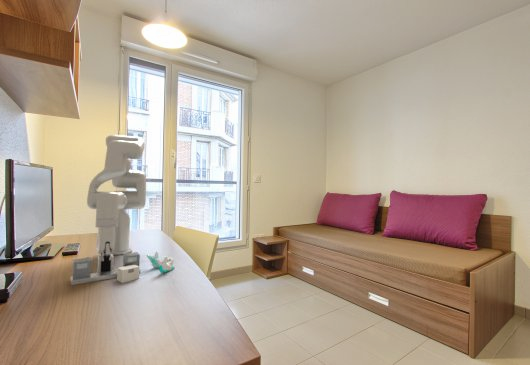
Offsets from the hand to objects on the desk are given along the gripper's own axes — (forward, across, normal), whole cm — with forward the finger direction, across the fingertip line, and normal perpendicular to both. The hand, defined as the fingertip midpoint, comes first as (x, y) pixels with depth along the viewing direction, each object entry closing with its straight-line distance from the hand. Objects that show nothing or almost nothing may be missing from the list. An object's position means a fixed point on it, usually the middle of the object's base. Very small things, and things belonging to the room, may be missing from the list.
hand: (104, 269), depth 103 cm
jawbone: (+2, +7, +20) cm, 21 cm away
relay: (+2, +12, +6) cm, 14 cm away
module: (+1, 0, 0) cm, 1 cm away
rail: (+2, +6, 0) cm, 6 cm away
